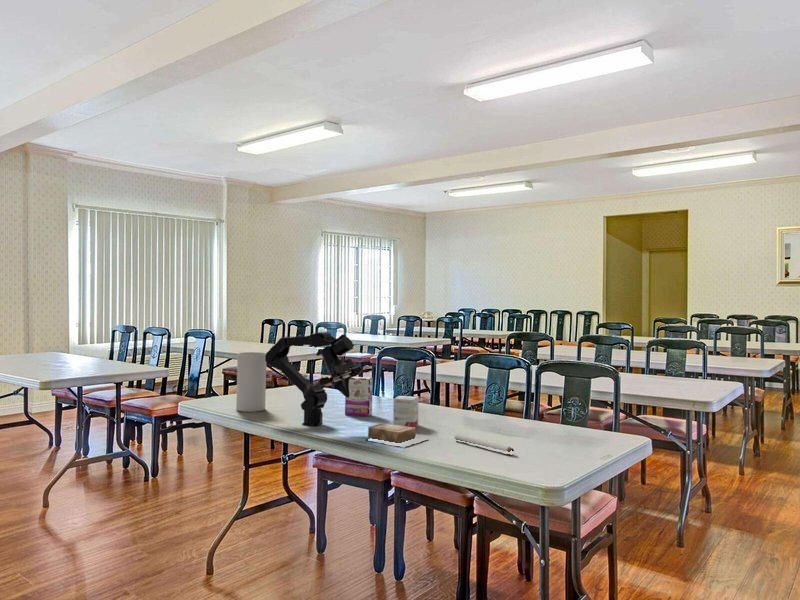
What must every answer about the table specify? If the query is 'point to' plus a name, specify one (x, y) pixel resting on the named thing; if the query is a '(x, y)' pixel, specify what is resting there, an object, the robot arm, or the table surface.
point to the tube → (482, 442)
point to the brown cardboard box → (391, 432)
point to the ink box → (405, 411)
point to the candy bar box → (359, 397)
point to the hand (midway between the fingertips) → (348, 397)
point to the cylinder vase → (251, 382)
